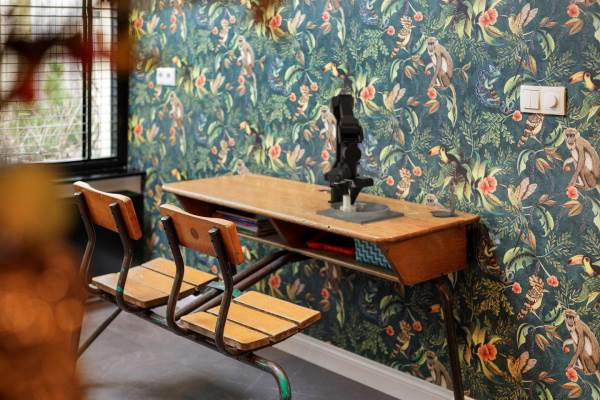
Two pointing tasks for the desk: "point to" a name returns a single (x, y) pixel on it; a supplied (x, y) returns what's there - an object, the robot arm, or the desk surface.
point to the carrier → (361, 220)
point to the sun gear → (360, 207)
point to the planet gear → (347, 204)
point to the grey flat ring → (350, 214)
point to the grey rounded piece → (451, 207)
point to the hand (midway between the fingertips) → (348, 204)
